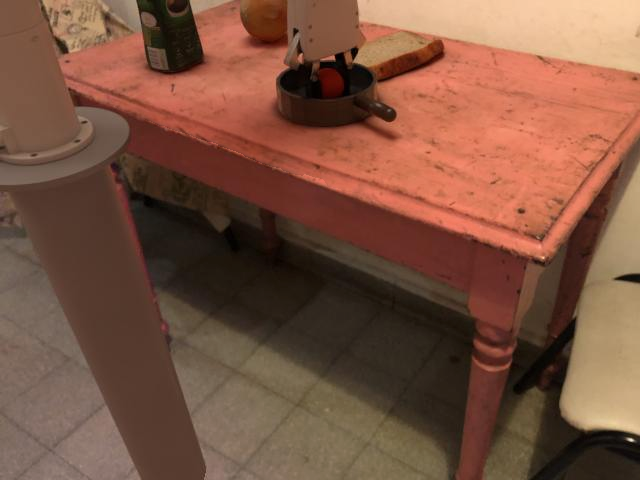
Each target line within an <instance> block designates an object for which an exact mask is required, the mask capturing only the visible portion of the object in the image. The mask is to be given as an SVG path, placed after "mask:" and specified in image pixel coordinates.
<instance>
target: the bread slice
mask: <svg viewBox="0 0 640 480" xmlns="http://www.w3.org/2000/svg"><path fill="white" fill-rule="evenodd" d="M444 50H445V44H444V42H443V40H442V39H441V38H437V39H436V38H435V37H434V38H432V39H429V38H426V37H424V36H421V35H419V34H418V33H415V32H413V31H409V30H404V29H403V30H399V31H398V30H397V31H396V32H392V33H389V34H384V35H380V36H378V37H376V38H373V39H372V40H369V41H366V42H365V43H364V45H363V46H362V47H361V49H360V50H358V54H357V56H356V58H355V59H354V61H353V62H354V63H359V64H361V65H364V66H366V67H368V68H370V69H371V70H372V71H373V72H375V73H376V76H377V80H378V81H380V80H386V79H387V78H390V77H394V76H395V75H398V74H402V73H403V72H407V71H409V70H411V69H413V68H417V67H418V66H420V65H424V64H425V63H427V62H428V61H430V60H432V59H433V58H434V57H436V56H437V55H438V54H440V53H442V52H443V51H444Z"/></svg>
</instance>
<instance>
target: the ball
mask: <svg viewBox="0 0 640 480" xmlns="http://www.w3.org/2000/svg"><path fill="white" fill-rule="evenodd" d="M318 79H319V80H321V82H322V99H335V98H339V97H340V96H341V94H342V93H343V90H344V81H343V78H342V76H341V75H340V73H339V72H337V71H336V70H334V69H331V68H323V69H321V70H319V73H318Z"/></svg>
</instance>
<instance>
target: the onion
mask: <svg viewBox="0 0 640 480" xmlns="http://www.w3.org/2000/svg"><path fill="white" fill-rule="evenodd" d="M287 8H288V0H241V3H240V6H239V19H240V22H241V24H242V26H243V28H244V29H245V31H246V33H248V35H249V36H250V37H252V38H253V39H256V40H260V41H264V42H271V43H273V42H277V41H278V40H279V39H280V38H282V37H283V36H284V35H285V34H286V33H288V30H287Z"/></svg>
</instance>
